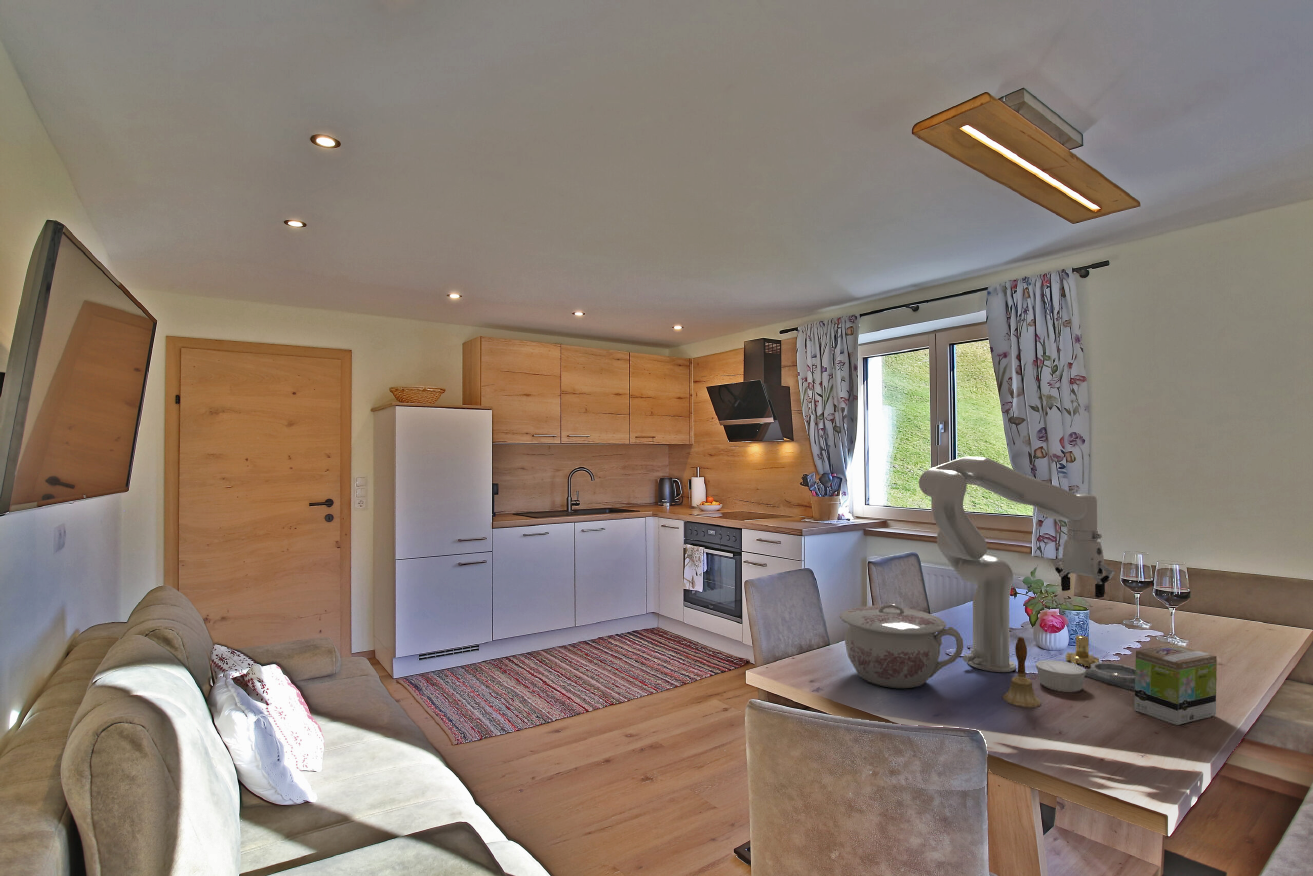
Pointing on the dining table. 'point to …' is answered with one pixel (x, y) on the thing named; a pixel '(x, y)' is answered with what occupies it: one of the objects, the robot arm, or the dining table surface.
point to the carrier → (1113, 674)
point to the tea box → (1175, 684)
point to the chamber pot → (896, 644)
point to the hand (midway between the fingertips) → (1082, 593)
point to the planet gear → (1082, 653)
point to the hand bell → (1021, 681)
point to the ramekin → (1061, 675)
